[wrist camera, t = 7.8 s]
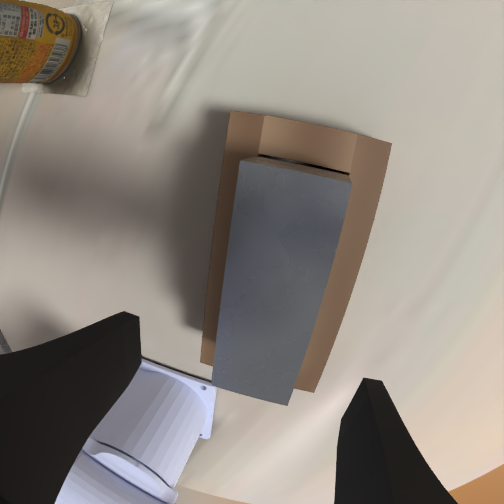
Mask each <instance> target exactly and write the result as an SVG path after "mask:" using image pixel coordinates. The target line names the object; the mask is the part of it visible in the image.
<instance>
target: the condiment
mask: <svg viewBox="0 0 504 504" xmlns="http://www.w3.org/2000/svg"><path fill="white" fill-rule="evenodd" d="M112 4H113V1H106V2H99V3H91V4H83V5H78V6H73V7H68V8H62V9H56V8H52V7H49V6H45V5H42V4H37V3H31V2H26V1H19V0H0V83H23V86H22V92H34V93H53V94H67V95H78V96H86V95H87V91H88V87H89V84H90V82H91V77H92V74H93V70H94V65H95V62H96V59H97V55H98V52H99V48H100V44H101V41H102V39H103V33H104V29H105V26H106V23H107V21H108V18H109V13H110V10H111V7H112ZM83 25H85V28H87V29H88V30H87V32H86V31H85V28H83ZM64 77H65V79H64Z"/></svg>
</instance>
